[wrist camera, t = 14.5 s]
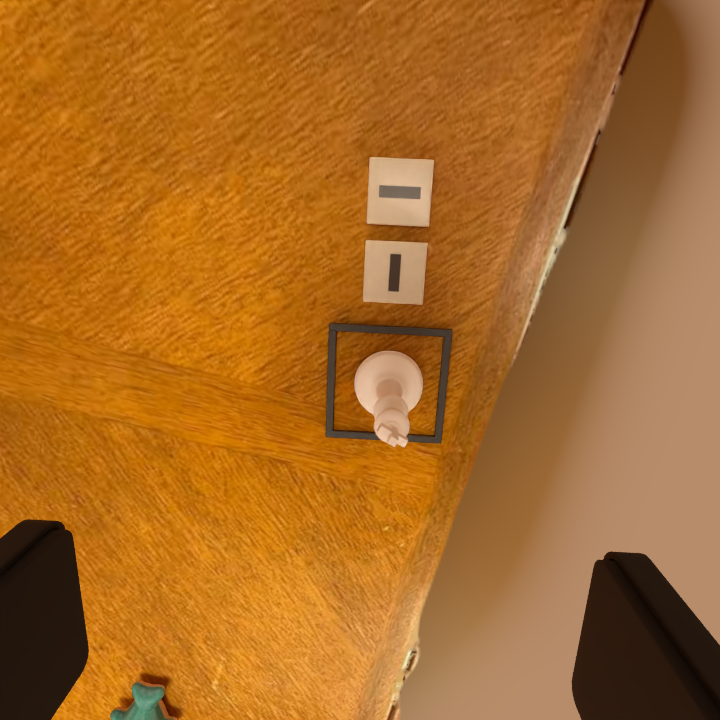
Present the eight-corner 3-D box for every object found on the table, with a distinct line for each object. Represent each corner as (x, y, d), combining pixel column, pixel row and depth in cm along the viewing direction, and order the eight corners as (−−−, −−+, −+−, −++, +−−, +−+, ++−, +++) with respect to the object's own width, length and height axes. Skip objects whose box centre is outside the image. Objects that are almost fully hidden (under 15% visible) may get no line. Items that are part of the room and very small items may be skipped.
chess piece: (399, 427, 36) (407, 500, 26) (341, 393, 35) (328, 455, 26) (436, 372, 35) (459, 427, 25) (377, 337, 34) (377, 379, 25)
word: (334, 157, 31) (333, 154, 30) (467, 163, 31) (471, 161, 30) (325, 435, 36) (324, 442, 35) (440, 442, 36) (442, 449, 35)
